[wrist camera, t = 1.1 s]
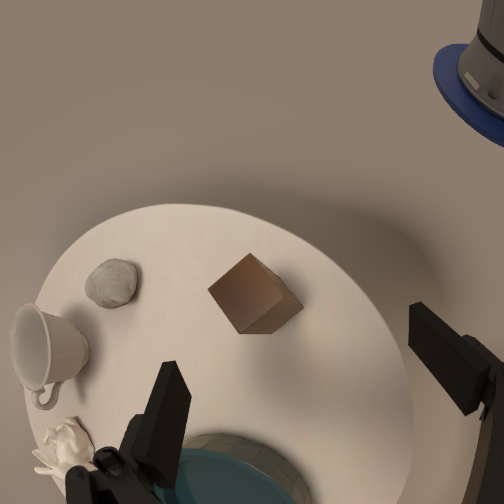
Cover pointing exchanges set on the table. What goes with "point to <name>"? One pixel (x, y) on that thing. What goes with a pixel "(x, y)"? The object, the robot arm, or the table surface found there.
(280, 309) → the walnut block
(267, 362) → the table surface
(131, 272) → the pebble
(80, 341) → the teacup
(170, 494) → the bowl
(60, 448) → the rabbit figurine
